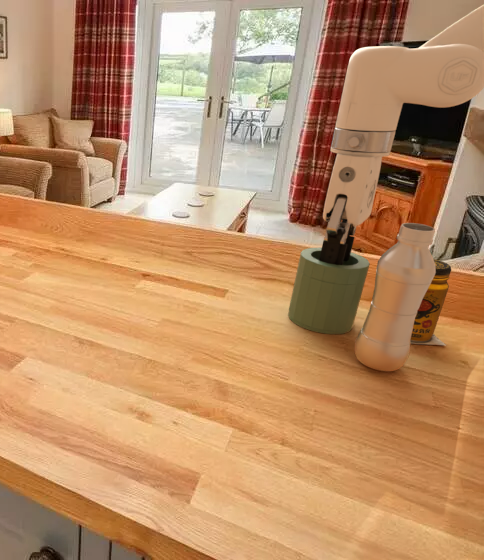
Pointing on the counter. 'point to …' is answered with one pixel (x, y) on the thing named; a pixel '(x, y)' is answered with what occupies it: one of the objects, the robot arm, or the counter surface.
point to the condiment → (431, 307)
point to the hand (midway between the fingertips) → (333, 261)
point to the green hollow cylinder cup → (327, 292)
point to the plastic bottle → (396, 299)
